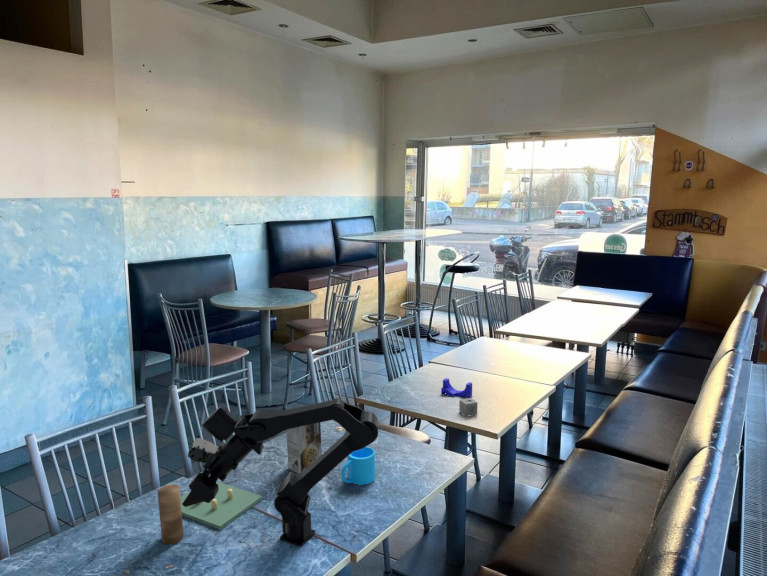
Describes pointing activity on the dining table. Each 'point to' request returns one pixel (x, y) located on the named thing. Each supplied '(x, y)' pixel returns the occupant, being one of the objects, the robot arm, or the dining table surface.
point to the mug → (360, 467)
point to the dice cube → (468, 406)
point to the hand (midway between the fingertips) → (190, 494)
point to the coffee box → (303, 446)
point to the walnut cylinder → (170, 514)
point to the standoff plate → (221, 506)
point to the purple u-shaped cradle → (452, 392)
